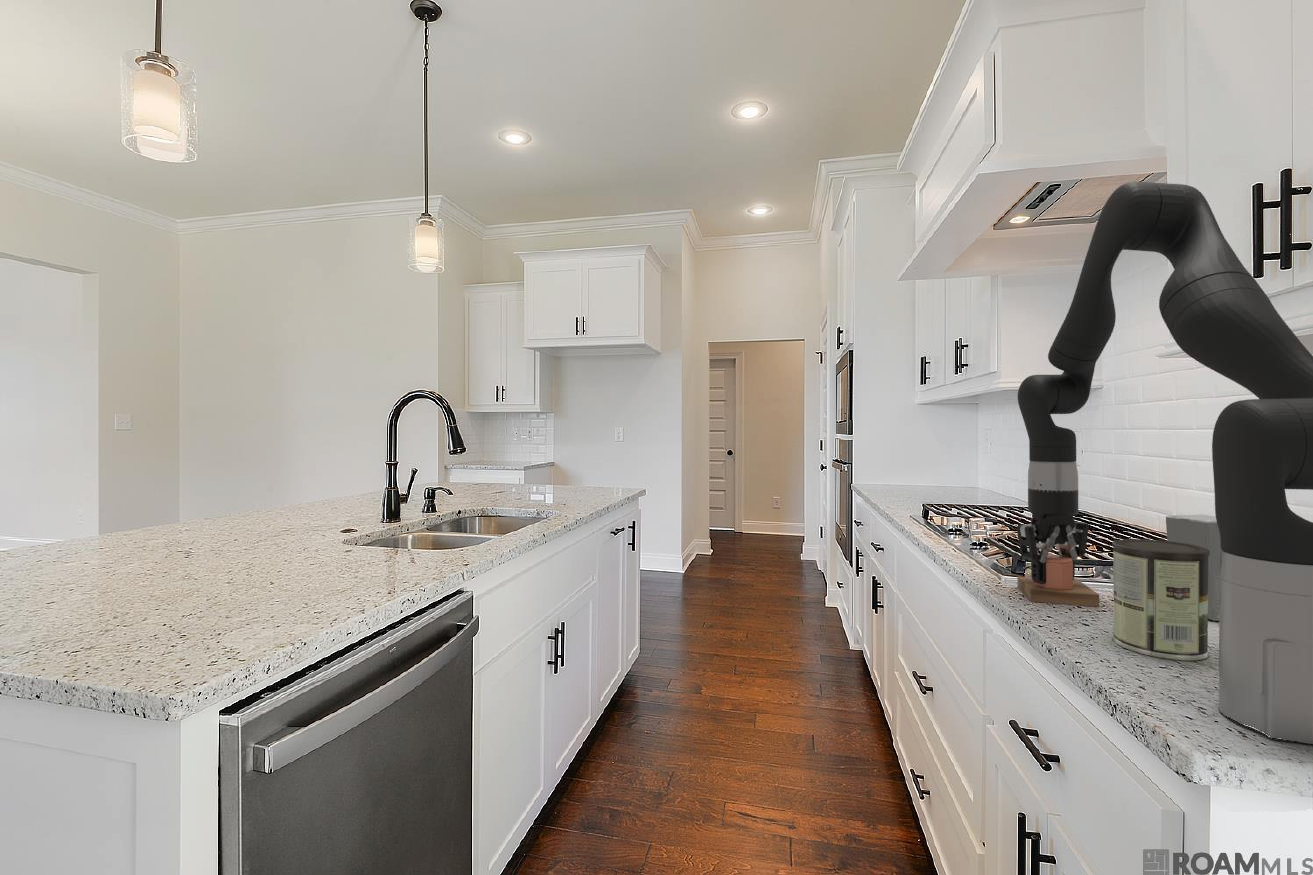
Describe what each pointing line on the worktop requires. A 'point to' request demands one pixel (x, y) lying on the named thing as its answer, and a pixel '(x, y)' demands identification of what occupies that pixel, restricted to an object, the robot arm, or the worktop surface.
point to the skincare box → (1204, 535)
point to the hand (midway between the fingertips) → (1053, 581)
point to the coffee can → (1161, 598)
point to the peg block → (1058, 593)
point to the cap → (1058, 572)
